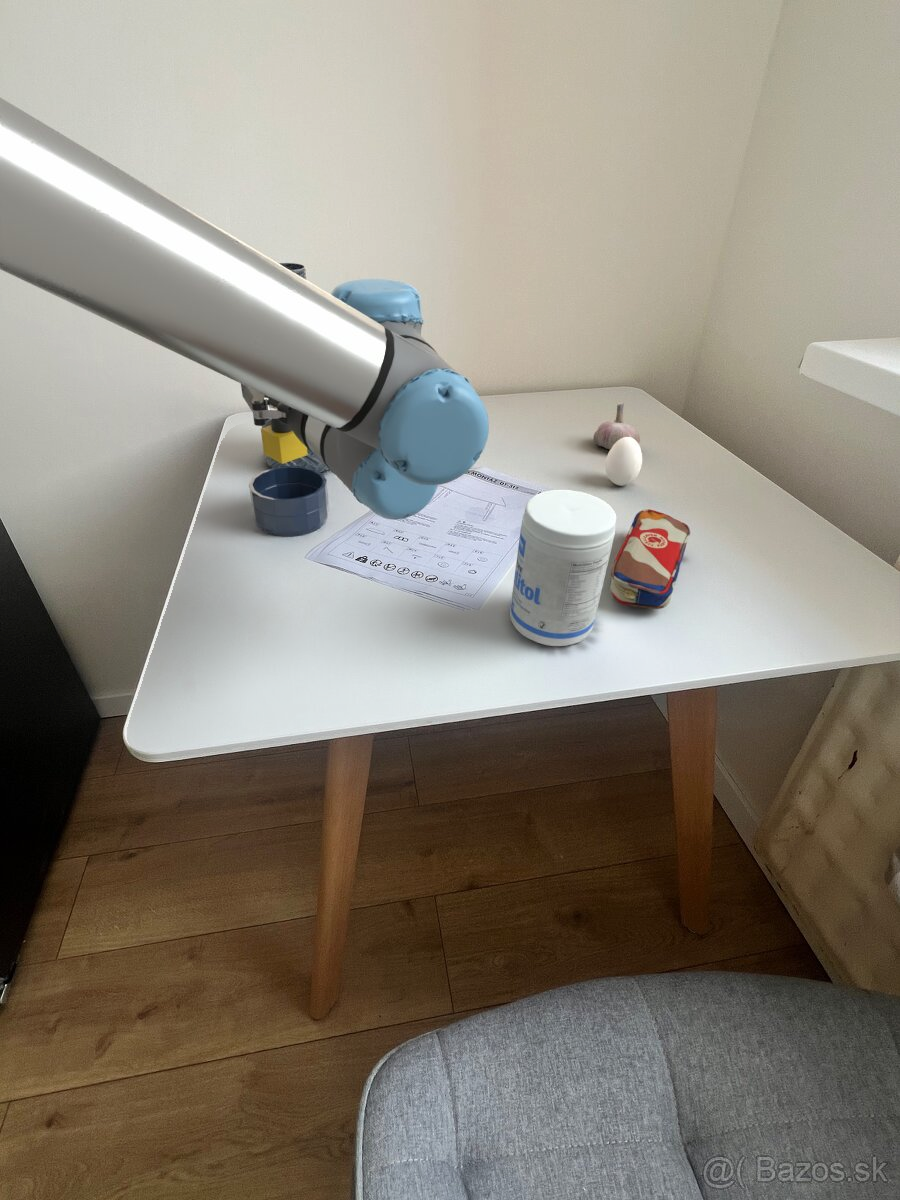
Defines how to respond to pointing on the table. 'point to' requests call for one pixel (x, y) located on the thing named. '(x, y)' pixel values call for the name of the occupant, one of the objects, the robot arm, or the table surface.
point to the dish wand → (281, 442)
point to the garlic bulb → (614, 431)
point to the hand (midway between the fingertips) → (261, 360)
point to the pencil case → (649, 560)
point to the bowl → (289, 500)
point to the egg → (624, 461)
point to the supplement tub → (561, 566)
